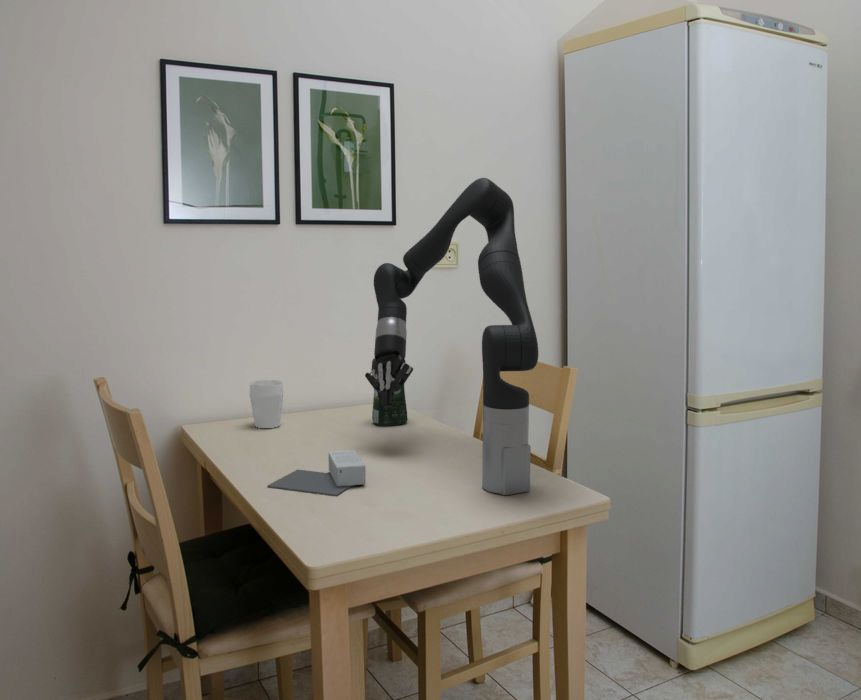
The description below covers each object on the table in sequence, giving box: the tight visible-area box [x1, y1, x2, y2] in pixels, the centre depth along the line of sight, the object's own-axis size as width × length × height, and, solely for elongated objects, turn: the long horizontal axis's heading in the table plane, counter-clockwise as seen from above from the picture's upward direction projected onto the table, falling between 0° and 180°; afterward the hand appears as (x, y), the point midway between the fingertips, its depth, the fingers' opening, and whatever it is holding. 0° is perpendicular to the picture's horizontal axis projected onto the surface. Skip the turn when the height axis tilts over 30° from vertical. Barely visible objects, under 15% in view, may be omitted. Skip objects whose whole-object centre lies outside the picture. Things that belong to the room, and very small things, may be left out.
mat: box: [266, 469, 354, 497], centre depth 157 cm, size 12×16×1 cm
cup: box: [249, 379, 285, 429], centre depth 205 cm, size 9×9×12 cm
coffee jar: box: [370, 357, 409, 427], centre depth 208 cm, size 10×8×19 cm
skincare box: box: [327, 449, 366, 487], centre depth 159 cm, size 6×4×12 cm
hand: (386, 406), depth 175 cm, fingers closed
